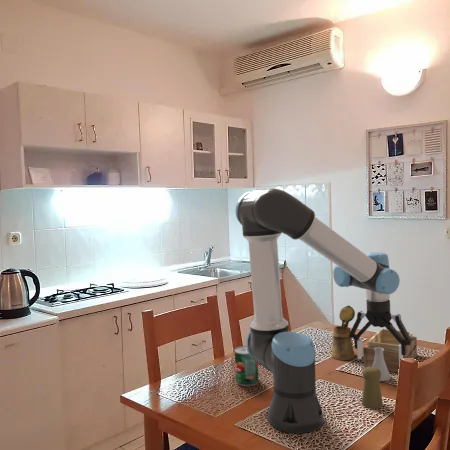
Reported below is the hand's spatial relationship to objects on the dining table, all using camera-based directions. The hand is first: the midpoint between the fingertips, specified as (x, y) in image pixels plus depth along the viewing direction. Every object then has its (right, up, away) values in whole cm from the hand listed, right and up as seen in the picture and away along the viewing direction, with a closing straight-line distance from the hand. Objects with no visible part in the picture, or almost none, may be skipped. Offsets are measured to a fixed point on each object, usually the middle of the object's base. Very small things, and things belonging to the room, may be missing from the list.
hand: (380, 361), depth 156 cm
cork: (-9, -7, -19) cm, 22 cm away
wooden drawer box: (+9, -4, +15) cm, 19 cm away
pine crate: (+9, -4, +15) cm, 19 cm away
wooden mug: (-6, -5, +24) cm, 25 cm away
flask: (0, -6, 0) cm, 6 cm away
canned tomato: (-45, -8, +2) cm, 45 cm away
